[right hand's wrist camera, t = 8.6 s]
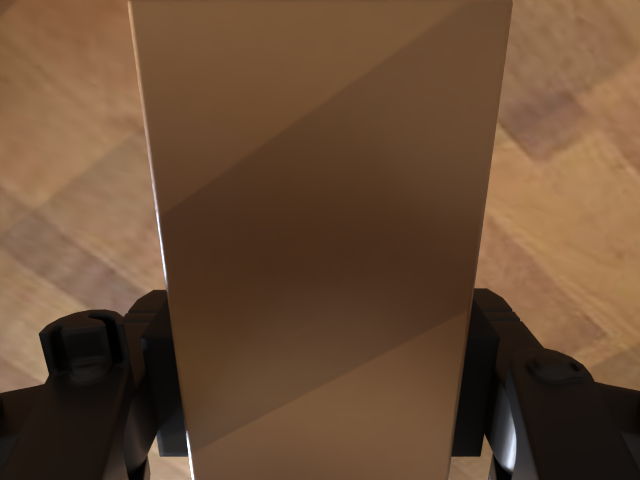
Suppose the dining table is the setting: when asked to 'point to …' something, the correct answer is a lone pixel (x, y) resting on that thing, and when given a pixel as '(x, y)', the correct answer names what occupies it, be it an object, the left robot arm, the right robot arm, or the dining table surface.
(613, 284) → the dining table surface
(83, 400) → the right robot arm
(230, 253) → the post
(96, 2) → the dining table surface
